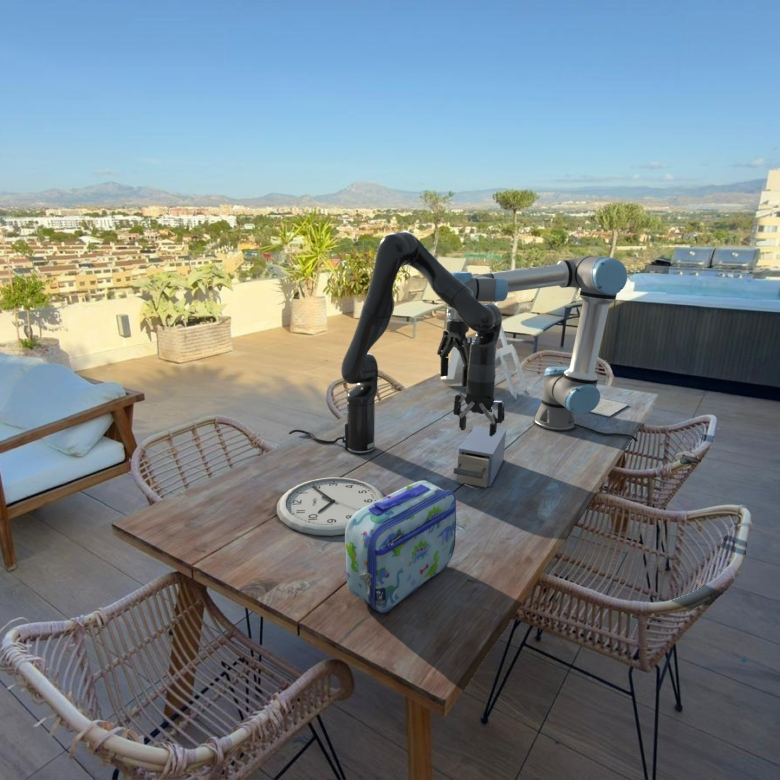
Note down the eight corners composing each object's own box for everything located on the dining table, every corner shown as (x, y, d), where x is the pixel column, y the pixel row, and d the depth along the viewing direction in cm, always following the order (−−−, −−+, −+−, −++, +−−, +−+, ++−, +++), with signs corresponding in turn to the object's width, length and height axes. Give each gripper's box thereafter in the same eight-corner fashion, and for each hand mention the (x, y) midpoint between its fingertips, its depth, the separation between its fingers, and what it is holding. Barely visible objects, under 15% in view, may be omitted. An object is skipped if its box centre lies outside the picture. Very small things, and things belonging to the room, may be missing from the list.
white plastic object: (461, 429, 252) (437, 405, 227) (444, 352, 274) (420, 323, 250) (535, 404, 240) (518, 377, 215) (510, 326, 262) (492, 293, 237)
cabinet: (490, 486, 155) (492, 454, 151) (457, 480, 158) (459, 448, 155) (503, 460, 173) (506, 430, 169) (473, 454, 176) (475, 425, 173)
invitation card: (608, 416, 214) (573, 407, 224) (608, 416, 214) (573, 408, 224) (628, 404, 229) (594, 396, 238) (628, 405, 229) (594, 397, 238)
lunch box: (374, 626, 100) (375, 530, 93) (338, 598, 107) (337, 508, 101) (459, 568, 117) (465, 484, 111) (424, 547, 124) (427, 467, 118)
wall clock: (392, 527, 129) (268, 531, 127) (391, 533, 130) (269, 537, 127) (383, 473, 158) (282, 475, 155) (383, 478, 158) (282, 480, 156)
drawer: (481, 496, 147) (483, 468, 145) (451, 490, 150) (452, 462, 148) (499, 461, 169) (501, 437, 166) (472, 456, 172) (474, 432, 170)
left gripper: (451, 377, 144) (448, 431, 149) (501, 384, 137) (497, 442, 142) (461, 371, 150) (459, 423, 155) (510, 378, 143) (505, 433, 148)
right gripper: (429, 314, 182) (426, 373, 188) (470, 326, 161) (466, 392, 167) (447, 313, 185) (444, 371, 191) (490, 325, 164) (485, 389, 170)
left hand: (477, 432), depth 148 cm, fingers open, 8 cm apart
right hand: (454, 381), depth 179 cm, fingers open, 13 cm apart
